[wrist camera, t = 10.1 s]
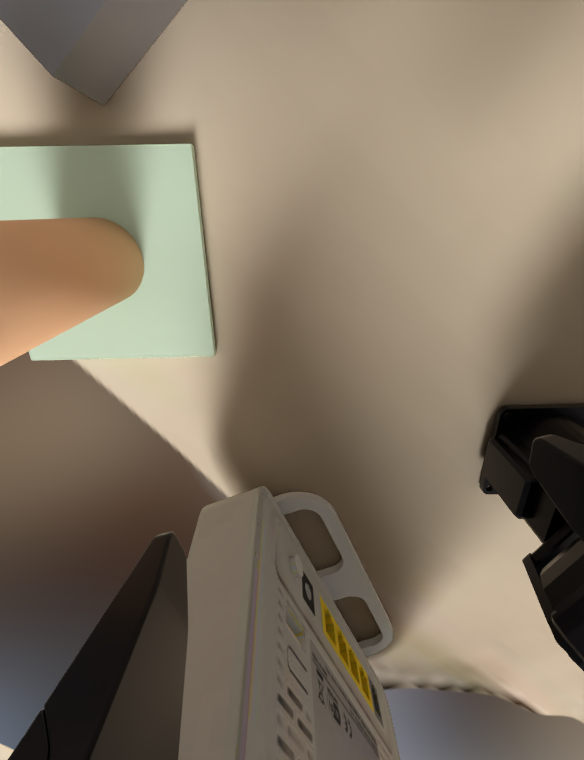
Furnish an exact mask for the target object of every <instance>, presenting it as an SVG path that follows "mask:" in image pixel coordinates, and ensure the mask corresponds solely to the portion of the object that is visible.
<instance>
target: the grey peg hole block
mask: <svg viewBox="0 0 584 760" xmlns="http://www.w3.org/2000/svg"><path fill="white" fill-rule="evenodd" d="M186 1H187V0H0V19H1V20H2V22H3V23H4V24H5V25H6V26H7V27H8V28H9V29H10V30H11V31H12V32H13V34H14V35H15V36H16V37H17V38H18V39H19V40H20V41H21V42H22V43H23V45H24V46H25V47H26V48H27V49H28V50H29V51H30V52H31V53H32V54H33V56H34V57H35V58H36V59H37V60H38V61H39V62H40V63H41V64H42V65H43V66H44V68H45V69H46V70H47V71H48V72H49V73H50V74H51V75H52V76H53V77H55V78H57V79H58V80H60V81H62V82H64V83H65V84H67V85H69V86H70V87H72V88H74V89H76V90H77V91H79V92H81V93H82V94H84V95H86V96H88V97H89V98H91V99H93V100H94V101H96V102H98V103H100V104H101V105H103V106H104V105H105V104H106V103H107V101H108V100H109V99H110V98H111V96H112V95H113V94H114V93H115V91H116V90H117V89H118V87H119V86H120V85H121V84H122V82H123V81H124V80H125V79H126V77H127V76H128V75H129V74H130V72H131V71H132V70H133V68H134V67H135V66H136V65H137V63H138V62H139V61H140V60H141V58H142V57H143V56H144V55H145V53H146V52H147V51H148V49H149V48H150V47H151V46H152V44H153V43H154V42H155V41H156V39H157V38H158V37H159V35H160V34H161V33H162V32H163V30H164V29H165V28H166V27H167V25H168V24H169V23H170V22H171V20H172V19H173V18H174V16H175V15H176V14H177V13H178V11H179V10H180V9H181V8H182V6H183V5H184V4H185V3H186Z"/></svg>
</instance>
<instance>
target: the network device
mask: <svg viewBox="0 0 584 760" xmlns="http://www.w3.org/2000/svg"><path fill="white" fill-rule="evenodd" d="M305 509H306V510H312V511H314V512H316V513H318V514H319V515H320V516H321V518H322V520H323V522H324V524H325V526H326V527H327V529H328V531H329V533H330V535H331V537H332V539H333V541H334V543H335V545H336V546H337V548H338V550H339V552H340V554H341V556H342V559H341V560H340V562H339V563H338V564H336V565H334V566H332V567H329V568H325V569H322V570H319V571H316V570H315V568H314V567H313V565H312V563H311V562H310V560H309V558H308V556H307V555H306V553H305V551H304V549H303V548H302V546H301V544H300V543H299V541H298V539H297V537H296V536H295V534H294V532H293V530H292V529H291V527H290V525H289V523H288V522H287V520H286V518H285V517H284V515H286V514H289V513H292V512H295V511H298V510H305ZM187 594H188V642H187V655H186V667H185V680H184V693H183V705H182V718H181V730H180V743H179V755H178V760H400V756H399V751H398V747H397V742H396V737H395V732H394V727H393V723H392V718H391V713H390V709H389V705H388V702H387V698H386V695H385V692H384V689H383V687H382V685H381V683H380V681H379V679H378V677H377V676H376V674H375V672H374V670H373V669H372V667H371V665H370V664H369V662H368V660H367V658H366V657H367V656H371V655H374V654H376V653H378V652H380V651H382V650H383V649H385V648H386V647H387V646H388V645H389V644H390V643H391V641H392V638H393V629H392V625H391V622H390V619H389V617H388V615H387V613H386V611H385V609H384V607H383V605H382V603H381V601H380V599H379V597H378V595H377V593H376V591H375V589H374V587H373V585H372V583H371V581H370V579H369V577H368V575H367V573H366V571H365V569H364V567H363V565H362V563H361V561H360V559H359V557H358V555H357V553H356V551H355V549H354V547H353V545H352V543H351V541H350V539H349V537H348V535H347V533H346V531H345V529H344V527H343V525H342V523H341V521H340V519H339V517H338V515H337V513H336V511H335V509H334V508H333V506H332V505H331V504H330V503H329V502H328V501H327V500H326V499H324V498H322V497H320V496H319V495H316V494H313V493H309V492H300V491H298V492H288V493H284V494H281V495H278V496H275V497H273V496H272V494H271V493H270V491H269V490H268V489H267V488H266V487H265V486H260V487H257V488H255V489H252V490H249V491H246V492H243V493H241V494H238V495H235V496H232V497H229V498H227V499H224V500H221V501H218V502H215V503H213V504H210V505H207V506H205V507H204V508H203V509H202V510H201V513H200V516H199V520H198V523H197V527H196V530H195V534H194V537H193V541H192V545H191V548H190V552H189V555H188V559H187ZM352 596H353V597H359V598H361V599H363V600H364V601H365V602H366V604H367V606H368V607H369V609H370V611H371V613H372V615H373V617H374V619H375V621H376V623H377V625H378V627H379V628H380V630H381V632H380V633H379V634H378V635H377V636H376V637H374V638H371V639H367V640H364V641H360V642H357V641H356V639H355V638H354V636H353V634H352V632H351V631H350V629H349V627H348V625H347V624H346V622H345V620H344V619H343V617H342V615H341V613H340V612H339V610H338V608H337V606H336V605H335V603H334V601H336V600H339V599H342V598H346V597H352Z"/></svg>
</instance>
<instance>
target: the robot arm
mask: <svg viewBox="0 0 584 760" xmlns="http://www.w3.org/2000/svg"><path fill="white" fill-rule="evenodd" d="M506 413H509V414H508V415H507V416H505V414H506ZM488 486H489V487H488ZM480 488H481V490H482V491H483V492H484V493H485V494H499V496H500V497H501V498H502V500H503V501H504V502H505V504H506V505H507V506H508V508H509V509H510V510H511V512H512V513H513V514H514V515H515V516H516V517H517V518H518V519H524V520H525V521H526V523H527V524H528V525H529V526H530V528H531V529H532V530H533V532H534V533H535V534H536V535H537V537H538V538H539V539H540V541H541V542H542V543H543V544H542V545H541V546H540V547H539V548H538V549H537V550H536V551H534V552H533V553H532V554H531V553H529V554H528V555H527V556H526V557H525V558H524V559H523V560H522V561H523V563H524V566H525V568H526V571H527V573H528V576H529V578H530V581H531V583H532V585H533V588H534V590H535V593H536V595H537V598H538V600H539V603H540V605H541V608H542V610H543V612H544V615H545V617H546V620H547V622H548V624H549V626H550V628H551V631H552V633H553V635H554V638H555V640H556V642H557V643H558V644H559V645H560V646H561V647H562V648H563V649H564V650H565V651H566V652H567V653H568V655H569V657H570V658H571V659H572V660H573V661H574V662H575V663H576V664H577V665H578V666H579V667H580V668H581V669H582V670H583V671H584V404H556V405H514V406H503V407H501V408H500V409H499V410H498V411H497V414H496V418H495V422H494V427H493V431H492V435H491V439H490V440H489V442H488V446H487V450H486V454H485V459H484V463H483V467H482V477H481V481H480ZM187 642H188V594H187V560H186V555H185V552H184V550H183V548H182V546H181V544H180V542H179V540H178V539H177V537H176V535H175V534H174V533H173V532H167V533H164V534H160V535H157V536H155V537H154V538H153V540H152V541H151V543H150V544H149V546H148V547H147V549H146V550H145V552H144V553H143V555H142V556H141V558H140V559H139V561H138V563H137V564H136V566H135V567H134V569H133V570H132V572H131V573H130V575H129V576H128V578H127V579H126V581H125V582H124V584H123V586H122V587H121V589H120V590H119V592H118V593H117V595H116V596H115V598H114V599H113V601H112V602H111V604H110V605H109V607H108V609H107V610H106V612H105V613H104V615H103V616H102V618H101V619H100V621H99V622H98V624H97V625H96V627H95V628H94V630H93V631H92V633H91V634H90V636H89V638H88V639H87V641H86V642H85V644H84V645H83V647H82V648H81V650H80V651H79V653H78V654H77V656H76V657H75V659H74V660H73V662H72V663H71V665H70V667H69V668H68V670H67V671H66V673H65V674H64V676H63V677H62V679H61V680H60V682H59V683H58V685H57V686H56V688H55V690H54V691H53V693H52V694H51V696H50V697H49V699H48V700H47V702H46V703H45V705H44V710H41V711H40V712H39V714H38V715H37V717H36V718H35V720H34V721H33V723H32V724H31V726H30V727H29V729H28V730H27V732H26V734H25V735H24V737H23V738H22V739H21V741H20V742H19V744H18V745H17V747H16V748H15V750H14V751H13V753H12V754H11V756H10V757H9V759H8V760H178V755H179V743H180V730H181V718H182V705H183V693H184V680H185V667H186V655H187Z"/></svg>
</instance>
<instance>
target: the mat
mask: <svg viewBox="0 0 584 760" xmlns="http://www.w3.org/2000/svg"><path fill="white" fill-rule="evenodd" d="M89 217H96V218H104V219H107V220H110V221H112V222H114V223H116V224H118V225H120V226H121V227H122V228H124V229H125V230H126V231H127V232H128V233H129V234H130V235H131V236H132V237H133V239H134V240H135V242H136V243H137V245H138V247H139V249H140V251H141V254H142V257H143V262H144V274H143V279H142V282H141V284H140V286H139V288H138V289H137V290H136V292H135V293H134V294H133V295H131V296H130V297H128V298H127V299H125V300H123V301H121V302H119V303H117V304H115V305H113V306H112V307H110V308H108V309H106V310H104V311H102V312H100V313H99V314H97V315H95V316H93V317H91V318H89V319H87V320H85V321H84V322H82V323H80V324H78V325H76V326H74V327H72V328H71V329H69V330H67V331H65V332H63V333H61V334H59V335H57V336H56V337H54V338H52V339H50V340H48V341H46V342H44V343H42V344H41V345H39V346H37V347H35V348H33V349H31V350H29V353H30V357H31V360H72V359H117V358H163V357H208V356H215V354H216V347H215V338H214V328H213V319H212V310H211V300H210V291H209V282H208V272H207V263H206V254H205V244H204V235H203V226H202V216H201V207H200V197H199V188H198V179H197V169H196V160H195V151H194V146H193V145H192V144H144V145H85V146H26V147H0V221H1V220H30V219H59V218H89Z"/></svg>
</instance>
